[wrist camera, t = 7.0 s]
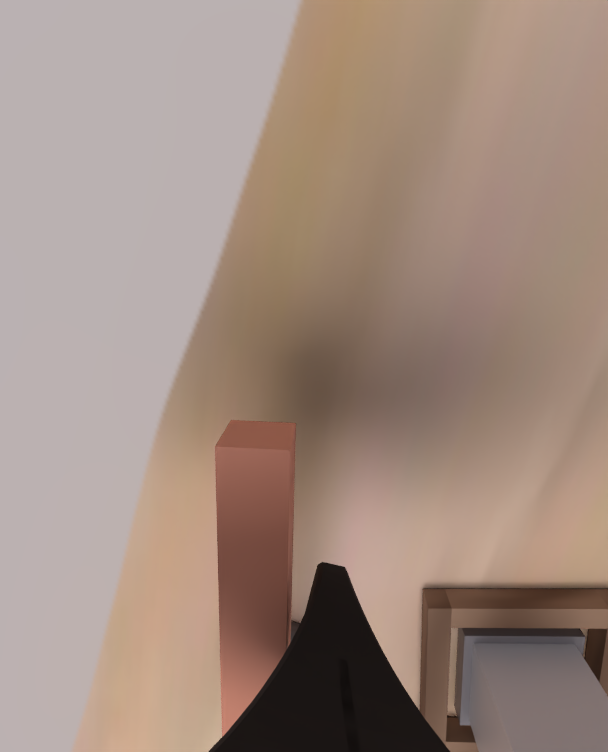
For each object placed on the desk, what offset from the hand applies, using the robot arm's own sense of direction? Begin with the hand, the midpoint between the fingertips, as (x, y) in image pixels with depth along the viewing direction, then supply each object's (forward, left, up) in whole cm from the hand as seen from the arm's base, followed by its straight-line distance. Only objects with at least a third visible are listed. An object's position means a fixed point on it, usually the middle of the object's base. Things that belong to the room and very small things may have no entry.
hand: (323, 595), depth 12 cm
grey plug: (-8, +11, -8) cm, 16 cm away
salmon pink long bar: (+2, +4, 0) cm, 4 cm away
